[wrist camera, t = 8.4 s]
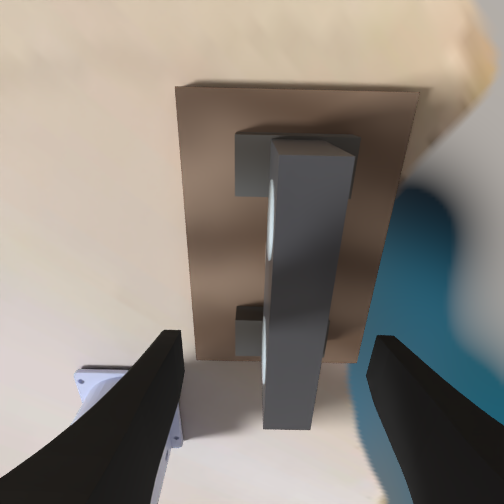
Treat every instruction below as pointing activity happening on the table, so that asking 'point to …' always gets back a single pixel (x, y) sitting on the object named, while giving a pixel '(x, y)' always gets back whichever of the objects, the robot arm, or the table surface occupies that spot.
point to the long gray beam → (300, 273)
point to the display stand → (256, 203)
